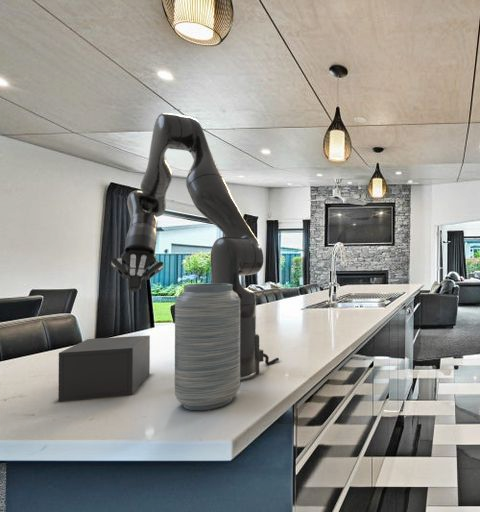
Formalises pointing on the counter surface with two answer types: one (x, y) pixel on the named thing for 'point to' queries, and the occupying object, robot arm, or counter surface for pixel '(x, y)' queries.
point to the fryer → (103, 367)
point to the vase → (207, 345)
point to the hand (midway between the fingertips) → (134, 289)
